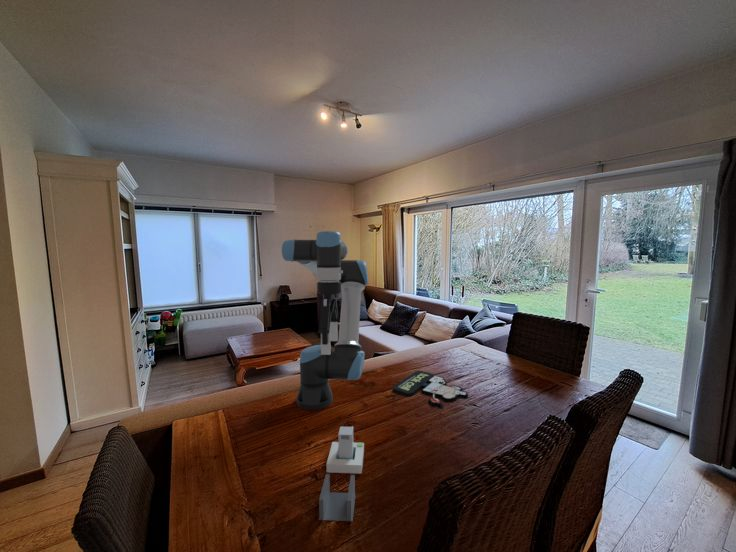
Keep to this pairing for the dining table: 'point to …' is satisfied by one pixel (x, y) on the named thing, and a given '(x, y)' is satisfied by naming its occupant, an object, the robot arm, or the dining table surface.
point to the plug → (346, 443)
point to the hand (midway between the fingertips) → (329, 347)
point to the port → (345, 460)
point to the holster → (337, 502)
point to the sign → (429, 388)
